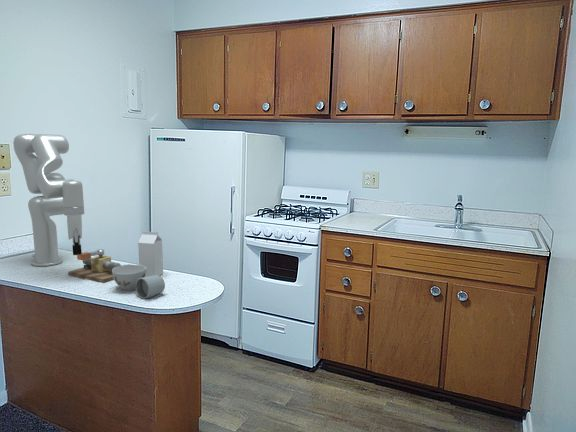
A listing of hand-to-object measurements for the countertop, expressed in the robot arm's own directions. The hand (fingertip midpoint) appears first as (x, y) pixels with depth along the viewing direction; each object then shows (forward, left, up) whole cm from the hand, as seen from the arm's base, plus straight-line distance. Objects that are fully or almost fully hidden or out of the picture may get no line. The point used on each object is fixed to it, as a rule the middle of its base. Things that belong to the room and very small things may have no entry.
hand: (77, 254), depth 177 cm
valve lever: (+5, +3, -1) cm, 6 cm away
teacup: (+30, +2, -10) cm, 32 cm away
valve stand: (+5, +8, -10) cm, 13 cm away
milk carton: (+25, +17, -10) cm, 31 cm away
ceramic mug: (+42, -2, -10) cm, 43 cm away
